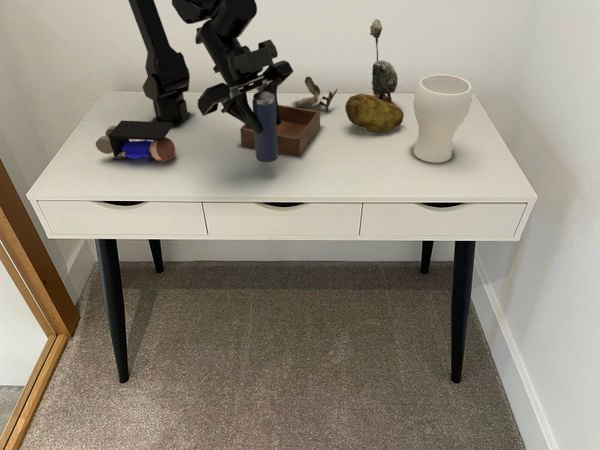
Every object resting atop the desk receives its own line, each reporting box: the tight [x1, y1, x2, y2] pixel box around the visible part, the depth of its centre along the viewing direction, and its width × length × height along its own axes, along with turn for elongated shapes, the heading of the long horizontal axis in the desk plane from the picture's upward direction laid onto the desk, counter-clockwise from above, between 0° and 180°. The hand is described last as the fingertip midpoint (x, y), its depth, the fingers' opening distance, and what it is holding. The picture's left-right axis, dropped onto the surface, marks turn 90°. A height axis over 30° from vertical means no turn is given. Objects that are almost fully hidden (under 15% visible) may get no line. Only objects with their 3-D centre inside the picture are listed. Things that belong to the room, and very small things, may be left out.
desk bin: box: [239, 104, 321, 157], centre depth 109 cm, size 13×13×4 cm
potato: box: [344, 93, 405, 133], centre depth 110 cm, size 8×13×8 cm, turn 81°
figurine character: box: [95, 120, 176, 163], centre depth 101 cm, size 7×8×15 cm
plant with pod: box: [369, 18, 398, 107], centre depth 114 cm, size 8×11×20 cm
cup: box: [413, 73, 473, 164], centre depth 100 cm, size 11×11×15 cm
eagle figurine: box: [294, 76, 338, 113], centre depth 119 cm, size 8×7×9 cm
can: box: [251, 91, 279, 164], centre depth 92 cm, size 4×4×12 cm
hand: (270, 128), depth 91 cm, fingers closed on can, 4 cm apart
